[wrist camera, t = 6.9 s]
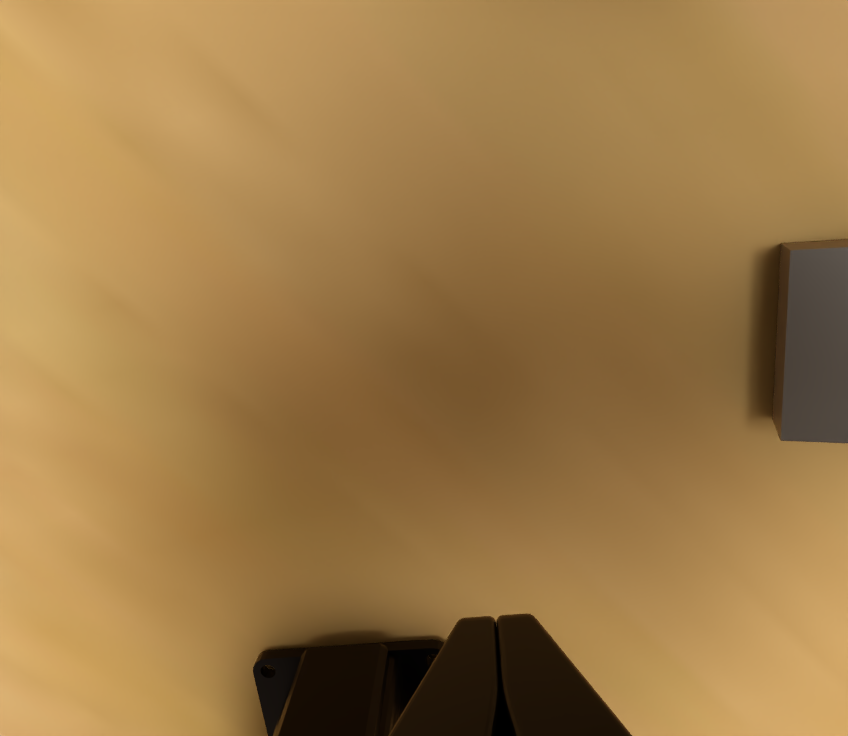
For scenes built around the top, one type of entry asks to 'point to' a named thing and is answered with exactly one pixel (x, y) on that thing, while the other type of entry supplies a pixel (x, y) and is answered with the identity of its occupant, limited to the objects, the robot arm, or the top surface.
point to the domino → (812, 343)
